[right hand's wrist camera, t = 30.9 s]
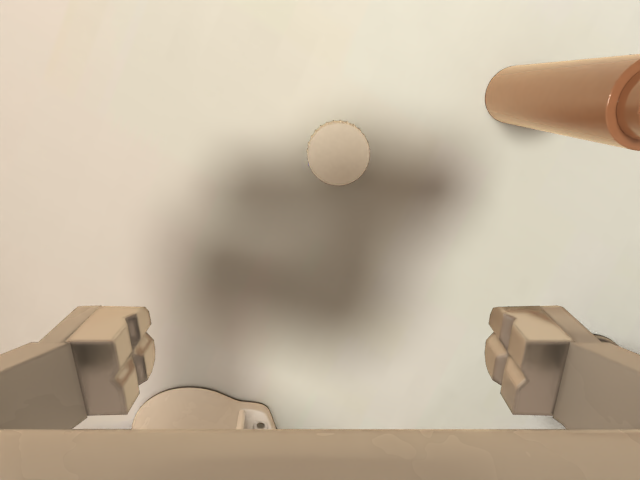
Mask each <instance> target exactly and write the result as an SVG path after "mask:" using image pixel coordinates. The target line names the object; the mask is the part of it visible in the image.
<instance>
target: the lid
mask: <svg viewBox="0 0 640 480" xmlns="http://www.w3.org/2000/svg"><path fill="white" fill-rule="evenodd" d="M307 153H308V156H307V160H308V162H309V166H310V168H311V170H312V172H313V173H314V174H315V176H316V177H317V178H318V179H320V180H321V181H323V182H325V183H327V184H330V185H335V186H341V185H346V184H349V183H352V182H354V181H355V180H357V179H358V178H359V177H360V176H361V175H362V174H363V173H364V171H365V170H366V168H367V166H368V163H369V158H370V148H369V145H368V141H367V140H366V138H365V135H364V134H362V133H361V130H360V129H359V128H356V127H355V125H354V124H353V125H352V124H350V123H348V121H346V122H344V121H341V120H340V121H334V120H333V121H332V122H328V123H327V122H326V124H324V125H322V126H321V125H320V127H319V128H318V129H317V130H315V132H314V134H313V135H311V139H310V142H308V148H307Z"/></svg>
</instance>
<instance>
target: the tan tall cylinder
mask: <svg viewBox="0 0 640 480" xmlns="http://www.w3.org/2000/svg"><path fill="white" fill-rule="evenodd" d="M485 102H486V107H487V110H488V112H489V113H490V115H491V116H492V117H493V118H494V119H496V120H497V121H500V122H503V123H507V124H512V125H517V126H521V127H526V128H531V129H536V130H540V131H545V132H550V133H555V134H559V135H564V136H569V137H574V138H578V139H583V140H588V141H593V142H597V143H602V144H607V145H612V146H616V147H621V148H626V149H631V150H637V151H640V54H633V55H623V56H612V57H601V58H591V59H580V60H570V61H559V62H548V63H538V64H527V65H516V66H510V67H507V68H505V69H503V70H501V71H500V72H498V73H497V74H496V75H495V76H494V77H493V78H492V80H491V81H490V83H489V85H488V87H487V90H486V95H485Z"/></svg>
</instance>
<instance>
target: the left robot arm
mask: <svg viewBox="0 0 640 480" xmlns="http://www.w3.org/2000/svg"><path fill="white" fill-rule="evenodd" d="M594 336H595V337H596V338H598V339H599V340H600V341H601V342H609V343H612V344H614V345H617V344H616V343H615V342H613V341H612V340H610V339H608V338H606V337H603V336H599V335H594ZM617 346H618V345H617ZM564 427H565V426H564ZM565 428H566V427H565ZM566 429H568V428H566Z"/></svg>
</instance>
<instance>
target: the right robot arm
mask: <svg viewBox="0 0 640 480" xmlns="http://www.w3.org/2000/svg"><path fill="white" fill-rule="evenodd" d="M150 325H151V319H150V314H149V311H148V310H147V308H146V307H131V306H79V307H77V308H76V309H75V310H73V311H72V312H71V313H70V314H69V315H68V316H67V317H66V318H65V319H63V320H62V321H61V322H60V323H59V324H58V325H57V326H56V327H55V328H54V329H52V330H51V331H50V332H49V333H48V334H47V335H46V336H45V337H44V338H42V339H41V340H40V341H39V342H31V343H28V344H26V345H23V346H21V347H18V348H16V349H13V350H11V351H8V352H6V353H3V354H1V355H0V480H640V355H639V354H637V353H634V352H632V351H629V350H627V349H624V348H622V347H619V346H617V345H614V344H612V343H609V342H601V341H600V340H599V339H598V338H596V337H595V336H594V335H593V334H592V333H591V332H590V331H589V330H588V329H587V328H585V327H584V326H583V325H582V324H581V323H580V322H579V321H578V320H577V319H576V318H574V317H573V316H572V315H571V314H570V313H569V312H568V311H567V310H566V309H565V308H563V307H561V306H557V305H556V306H514V307H495V308H493V309H492V311H491V314H490V318H489V325H490V327H491V328H492V330H493V331H494V332H493V333H492V334H491V335H490V337H489V338H488V339H487V340H486V345H485V362H486V367H487V370H488V373H489V374H490V376H491V378H492V380H493V381H495V382H497V383H498V384H500V385H501V392H500V394H501V395H502V397H503V399H504V400H505V402H506V404H507V405H508V407H509V409H510V410H511V412H512V414H513V415H549V416H553V418H554V419H556V420H557V421H558V422H560V423H561V424H562V425H564V426H565V427H566V428H568V429H276V427H275V424H274V421H273V419H272V416H271V414H270V411H269V409H268V408H267V407H266V406H265V405H262V404H259V403H253V402H242V401H237V400H234V399H232V398H230V397H227V396H225V395H223V394H221V393H218V392H215V391H211V390H207V389H202V388H177V389H172V390H168V391H165V392H162V393H160V394H158V395H156V396H154V397H152V398H151V399H149V400H148V401H147V402H145V403H144V404H143V405H142V407H141V408H140V409H139V410H138V412H137V414H136V415H135V418H134V420H133V424H132V429H72V428H74V427H75V426H77V425H78V424H79V423H81V422H82V421H83V420H85V419H86V418H87V416H91V415H126V414H128V412H129V411H130V409H131V407H132V405H133V404H134V402H135V400H136V399H137V397H138V395H139V394H140V392H139V385H140V384H142V383H143V382H145V381H147V380H148V378H149V376H150V374H151V373H152V370H153V366H154V362H155V344H154V340H153V339H152V338H151V337H150V335H149V334H148V333H147V332H146V331H147V330H148V328H149V327H150ZM260 423H263V424H260Z"/></svg>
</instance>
